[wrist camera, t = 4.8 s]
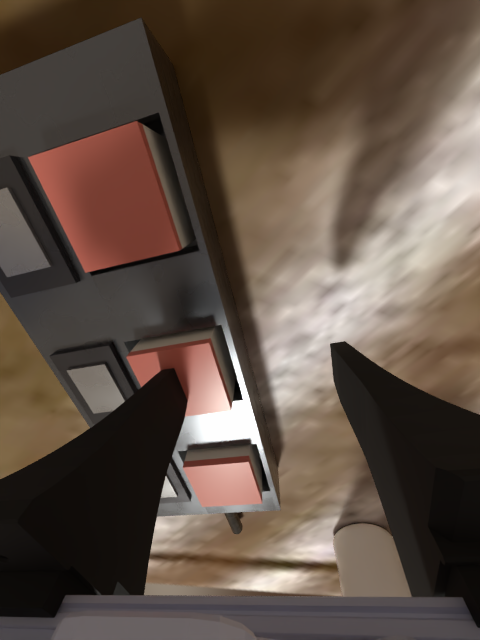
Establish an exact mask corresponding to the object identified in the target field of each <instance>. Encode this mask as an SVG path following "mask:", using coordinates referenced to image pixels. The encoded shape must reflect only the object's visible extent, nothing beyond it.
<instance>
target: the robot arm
mask: <svg viewBox="0 0 480 640" xmlns="http://www.w3.org/2000/svg"><path fill="white" fill-rule="evenodd" d="M330 347H331V357H332V367H333V377H334V383H335V386H336V390H337V393H338V396H339V399H340V402H341V404H342V406H343V409H344V411H345V413H346V415H347V417H348V420H349V422H350V424H351V426H352V428H353V431H354V433H355V435H356V437H357V439H358V441H359V444H360V446H361V448H362V450H363V452H364V455H365V457H366V460H367V462H368V465H369V468H370V471H371V474H372V477H373V479H374V482H375V485H376V488H377V491H378V494H379V497H380V500H381V503H382V506H383V509H384V512H385V515H386V518H387V521H388V524H389V527H390V530H391V533H392V536H393V539H394V542H395V545H396V548H397V551H398V554H399V558H400V561H401V564H402V567H403V570H404V574H405V577H406V580H407V583H408V586H409V590H410V593H411V596H412V597H336V596H153V595H152V596H150V595H146V596H145V595H144V590H145V583H146V576H147V569H148V562H149V556H150V550H151V544H152V539H153V533H154V527H155V522H156V518H157V513H158V508H159V503H160V498H161V494H162V490H163V486H164V481H165V477H166V474H167V470H168V467H169V464H170V461H171V458H172V455H173V452H174V449H175V446H176V443H177V440H178V438H179V435H180V432H181V429H182V425H183V422H184V419H185V414H186V408H187V403H188V400H187V398H186V395H185V393H184V391H183V388H182V386H181V383H180V381H179V379H178V376H177V374H176V371H175V369H174V368H171V369H164V370H161V371H160V372H159V373H157V374H156V375H155V376H154V377H152V378H151V379H150V380H149V381H148V382H147V383H146V384H144V385H143V386H142V387H141V388H140V389H139V390H138V391H136V392H135V393H134V394H133V395H132V396H131V397H130V398H128V399H127V400H126V401H125V402H124V403H122V404H121V405H120V406H119V407H117V408H116V409H115V410H114V411H113V412H111V413H110V414H109V415H108V416H106V417H105V418H104V419H102V420H101V421H100V422H98V423H97V424H95V425H94V426H93V427H91V428H90V429H88V430H87V431H85V432H84V433H83V434H81V435H79V436H78V437H76V438H75V439H73V440H71V441H70V442H68V443H67V444H65V445H64V446H62V447H60V448H59V449H57V450H55V451H54V452H52V453H50V454H48V455H47V456H45V457H43V458H41V459H40V460H38V461H36V462H34V463H32V464H30V465H28V466H27V467H25V468H23V469H21V470H19V471H17V472H15V473H13V474H11V475H9V476H7V477H4V478H2V479H0V640H480V415H479V414H476V413H473V412H471V411H468V410H465V409H463V408H460V407H458V406H456V405H453V404H451V403H448V402H446V401H444V400H441V399H439V398H437V397H435V396H432V395H430V394H428V393H426V392H424V391H422V390H420V389H418V388H416V387H414V386H412V385H410V384H408V383H406V382H405V381H403V380H401V379H399V378H398V377H396V376H394V375H392V374H391V373H389V372H387V371H386V370H384V369H383V368H381V367H380V366H378V365H377V364H375V363H374V362H372V361H371V360H370V359H368V358H367V357H365V356H364V355H363V354H361V353H360V352H359V351H357V350H356V349H355V348H353V347H352V346H351V345H349V344H348V343H347V342H345V341H344V342H338V343H331V344H330Z"/></svg>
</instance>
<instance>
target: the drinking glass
mask: <svg viewBox="0 0 480 640" xmlns="http://www.w3.org/2000/svg"><path fill="white" fill-rule="evenodd" d="M333 547H334V552H335V557H336V562H337V567H338V573H339V580H340V586H341V593H342V597H412V596H411V593H410V590H409V586H408V583H407V580H406V577H405V574H404V570H403V567H402V564H401V561H400V558H399V554H398V551H397V548H396V545H395V542H394V539H393V537H392V536H391V535H390V533H389V532H388V531H386V530H385V529H383V528H382V527H379V526H377V525H373V524H366V523H359V524H352V525H348V526H346V527H343V528H342V529H340V530H339V531H338V532H337V533H336V534H335V536H334V539H333Z"/></svg>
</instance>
